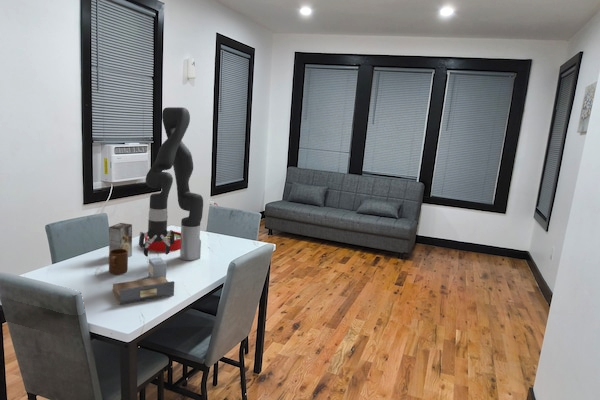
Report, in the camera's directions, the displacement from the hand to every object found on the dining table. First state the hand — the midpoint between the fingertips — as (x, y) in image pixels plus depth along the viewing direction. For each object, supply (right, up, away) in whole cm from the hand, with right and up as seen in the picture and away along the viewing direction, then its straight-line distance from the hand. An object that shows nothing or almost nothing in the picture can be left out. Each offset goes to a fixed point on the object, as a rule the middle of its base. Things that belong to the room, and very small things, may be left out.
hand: (156, 255), depth 172 cm
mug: (-19, -9, +3) cm, 21 cm away
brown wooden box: (-1, -13, -13) cm, 18 cm away
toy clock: (-12, -2, +45) cm, 47 cm away
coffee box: (-26, -4, +23) cm, 35 cm away
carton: (-1, -11, +2) cm, 11 cm away
